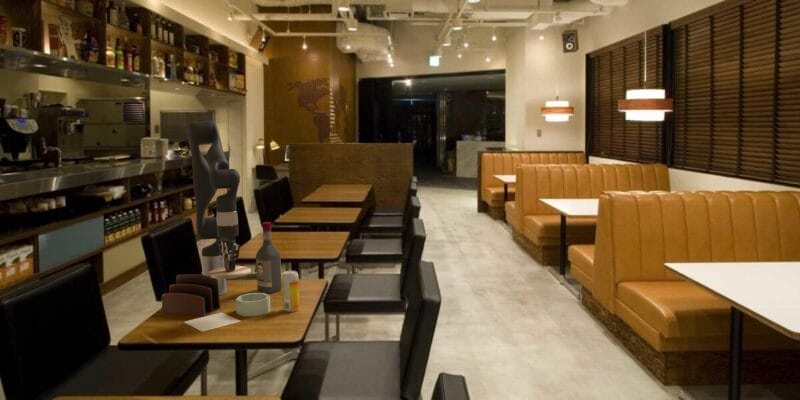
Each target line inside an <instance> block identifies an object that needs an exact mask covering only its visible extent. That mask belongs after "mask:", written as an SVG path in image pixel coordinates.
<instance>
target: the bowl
mask: <svg viewBox="0 0 800 400" xmlns="http://www.w3.org/2000/svg"><path fill="white" fill-rule="evenodd" d="M271 310H272V303H271V294H269V293H262V292H250V293H246V294H241V295H239V296H237V298H235V311H236V312H235V313H236V315H239V316H241V317H257V316H261V315H265V314H268V313H269V312H270V311H271Z"/></svg>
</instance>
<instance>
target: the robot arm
mask: <svg viewBox="0 0 800 400" xmlns="http://www.w3.org/2000/svg"><path fill="white" fill-rule="evenodd" d="M187 128H188V129H187V132H188V142H189V146H190V154H191V163H192V164H191V165H192V180H193V193H194V199H195V215H196V216H195V221H196V222H195V223H196V224H195V225H196V227H195V228H196V235H197V239H199V240H214V239H215V241H214V242H213V243H211V244H209V245H207V246H204V247H203V248H202V249H201V261H202V262H201V263H202V275H206V276H209V272H210V271H211V270H213V269H217V268H221V267H225V258H226V257H228V258H229V270H235V266H236V260H238V259H239V254H240V250H241V244H237V242H236V237H238V236H239V217H238V211H237V210H238V209H237V197H238V196H237V195H238V190H239V186H240V181H241V175H240V173H239V171H238V170H237V169H235V168H230V163H229V161H228V160H227V157H226V154H225V152H224V150H223V145H222V140H221V136H220V131H219V129H218V126H217V124H216V122H215V121H214V120H203V121H202V120H201V121H192V122H191V121H190V123H189V124H188V126H187ZM210 144H211V146H210V147H209V148H208V150H207V151H206V155H205V157H204V156H203V154H202V152H201V150H200V145H210ZM224 189H228V191H227V192H226V193H223V194H220V195H218V196H217V197H216V199H215V202H216V204H215V205H216V206H215V207H216V216H214V217H213V216H212V217H205V213H206V211H207V209H208V206H209V204H210V203H211V202H212V200H213V198H214V197H215V195H216V193H217V191H218V190H224ZM217 280H218V288H219V296H223V295H225V294H227V279H217Z"/></svg>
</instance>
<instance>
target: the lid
mask: <svg viewBox="0 0 800 400" xmlns="http://www.w3.org/2000/svg"><path fill="white" fill-rule="evenodd" d="M251 272H252V271H251V268H250V267H248V266H243V265H235V270H229V258H228V257H226V258H225V267H221V268H217V269H213V270H211V271H210V272H209V276H210V277H211V278H216V279H226V280H232V279H237V278H241V277H242V278H243V277H246V276H249V275H250V274H251Z"/></svg>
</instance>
